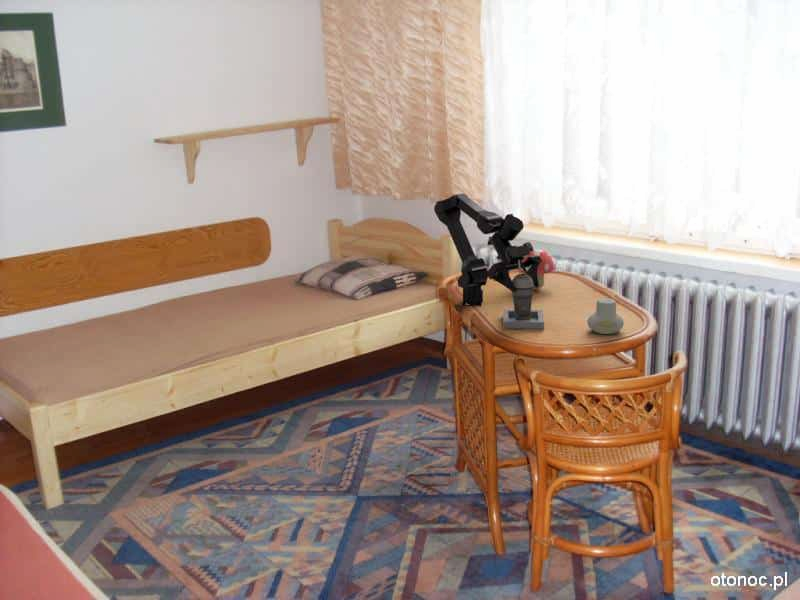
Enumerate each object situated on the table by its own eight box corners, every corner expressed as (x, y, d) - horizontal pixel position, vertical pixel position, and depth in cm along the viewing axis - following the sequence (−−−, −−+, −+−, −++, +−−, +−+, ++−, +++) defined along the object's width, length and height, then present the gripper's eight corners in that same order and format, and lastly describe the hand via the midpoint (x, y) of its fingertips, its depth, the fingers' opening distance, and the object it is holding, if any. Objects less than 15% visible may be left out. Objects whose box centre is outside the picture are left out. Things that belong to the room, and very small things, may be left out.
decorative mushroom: (551, 296, 310) (552, 254, 305) (513, 294, 313) (514, 253, 309) (555, 285, 322) (556, 245, 318) (518, 284, 325) (519, 244, 321)
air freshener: (622, 327, 276) (623, 297, 273) (624, 336, 268) (625, 305, 265) (586, 326, 277) (587, 296, 274) (587, 335, 270) (588, 304, 267)
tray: (503, 329, 277) (503, 321, 276) (503, 316, 289) (503, 309, 288) (543, 329, 275) (544, 322, 275) (542, 317, 287) (542, 310, 287)
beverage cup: (527, 325, 277) (527, 264, 272) (507, 322, 281) (506, 261, 276) (537, 319, 283) (537, 258, 277) (517, 316, 287) (516, 256, 281)
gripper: (493, 238, 272) (515, 280, 266) (539, 230, 282) (561, 271, 276) (477, 258, 281) (498, 299, 275) (522, 249, 290) (544, 289, 285)
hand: (526, 289), depth 278 cm, fingers open, 9 cm apart
